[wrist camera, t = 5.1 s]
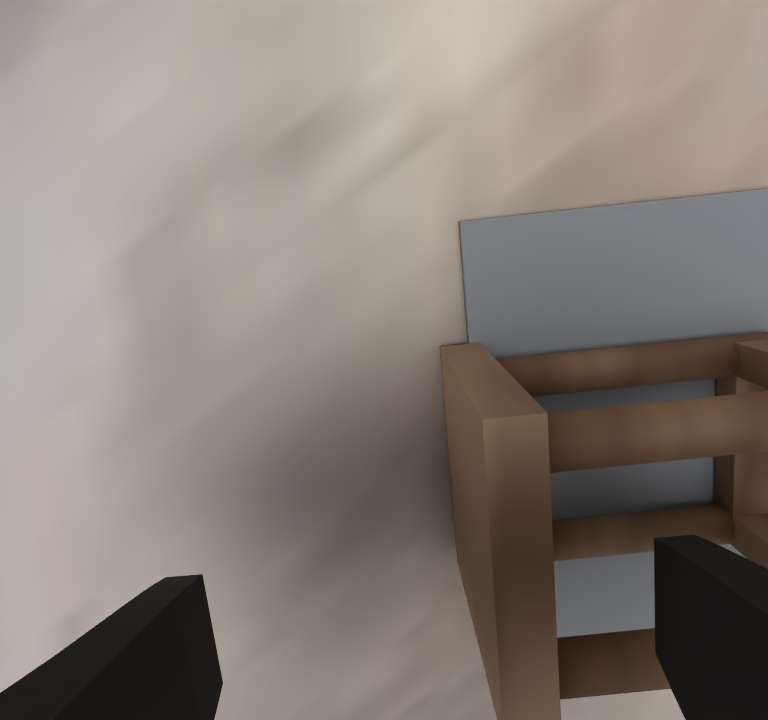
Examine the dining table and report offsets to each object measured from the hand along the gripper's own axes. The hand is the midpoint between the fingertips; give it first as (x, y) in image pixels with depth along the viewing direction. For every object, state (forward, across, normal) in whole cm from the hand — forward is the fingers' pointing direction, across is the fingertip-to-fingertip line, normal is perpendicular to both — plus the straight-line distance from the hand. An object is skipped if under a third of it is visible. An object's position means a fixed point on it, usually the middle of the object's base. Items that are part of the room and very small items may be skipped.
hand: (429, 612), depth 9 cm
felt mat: (+7, -6, 0) cm, 9 cm away
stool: (+3, -1, 0) cm, 4 cm away
